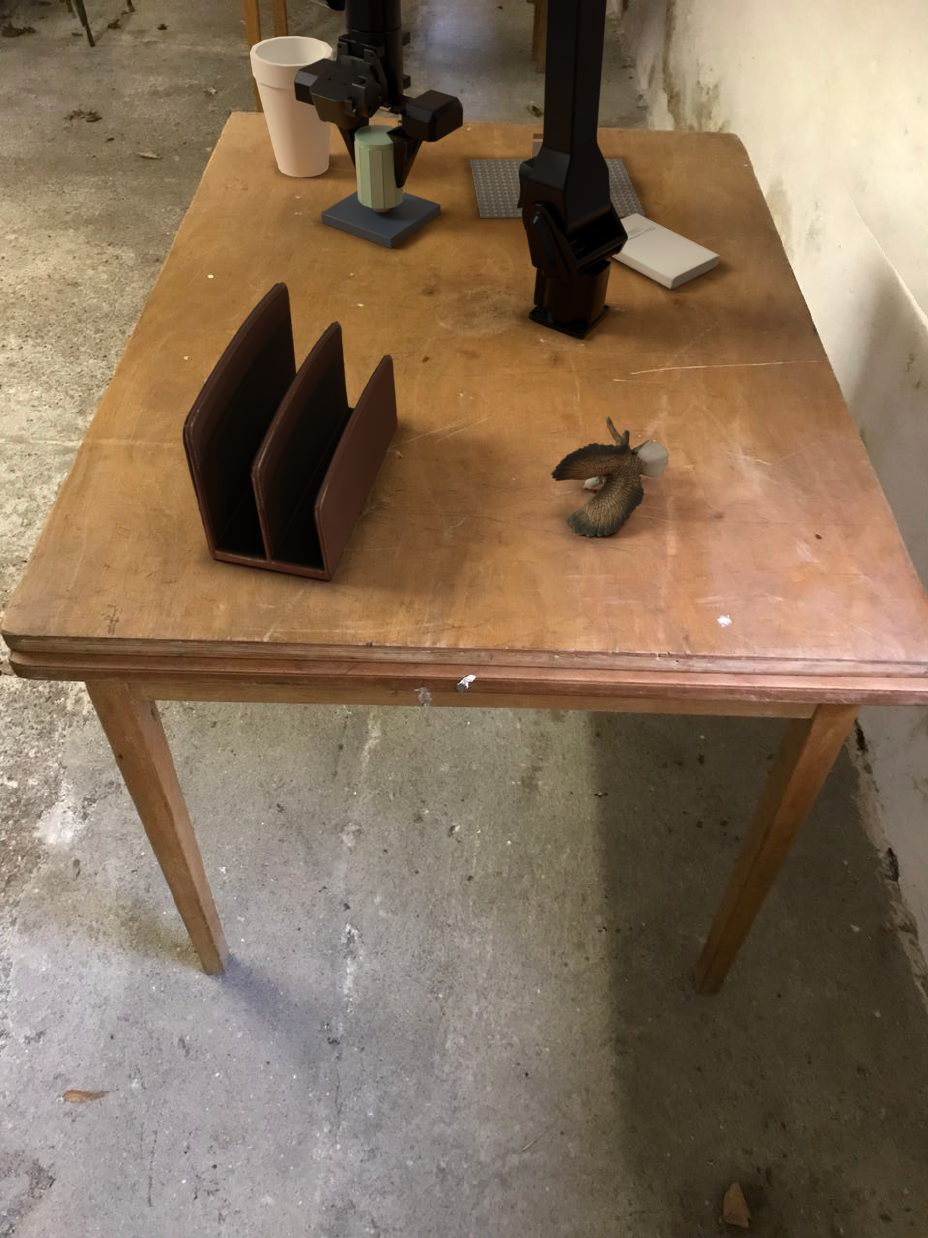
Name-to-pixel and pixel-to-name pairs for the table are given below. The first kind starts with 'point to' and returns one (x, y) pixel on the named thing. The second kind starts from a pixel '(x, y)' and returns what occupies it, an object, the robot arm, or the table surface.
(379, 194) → the mint canister
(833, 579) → the table surface
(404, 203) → the cup stand
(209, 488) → the letter holder
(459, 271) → the table surface
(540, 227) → the robot arm
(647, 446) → the eagle figurine
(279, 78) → the foam cup
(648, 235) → the hard drive
